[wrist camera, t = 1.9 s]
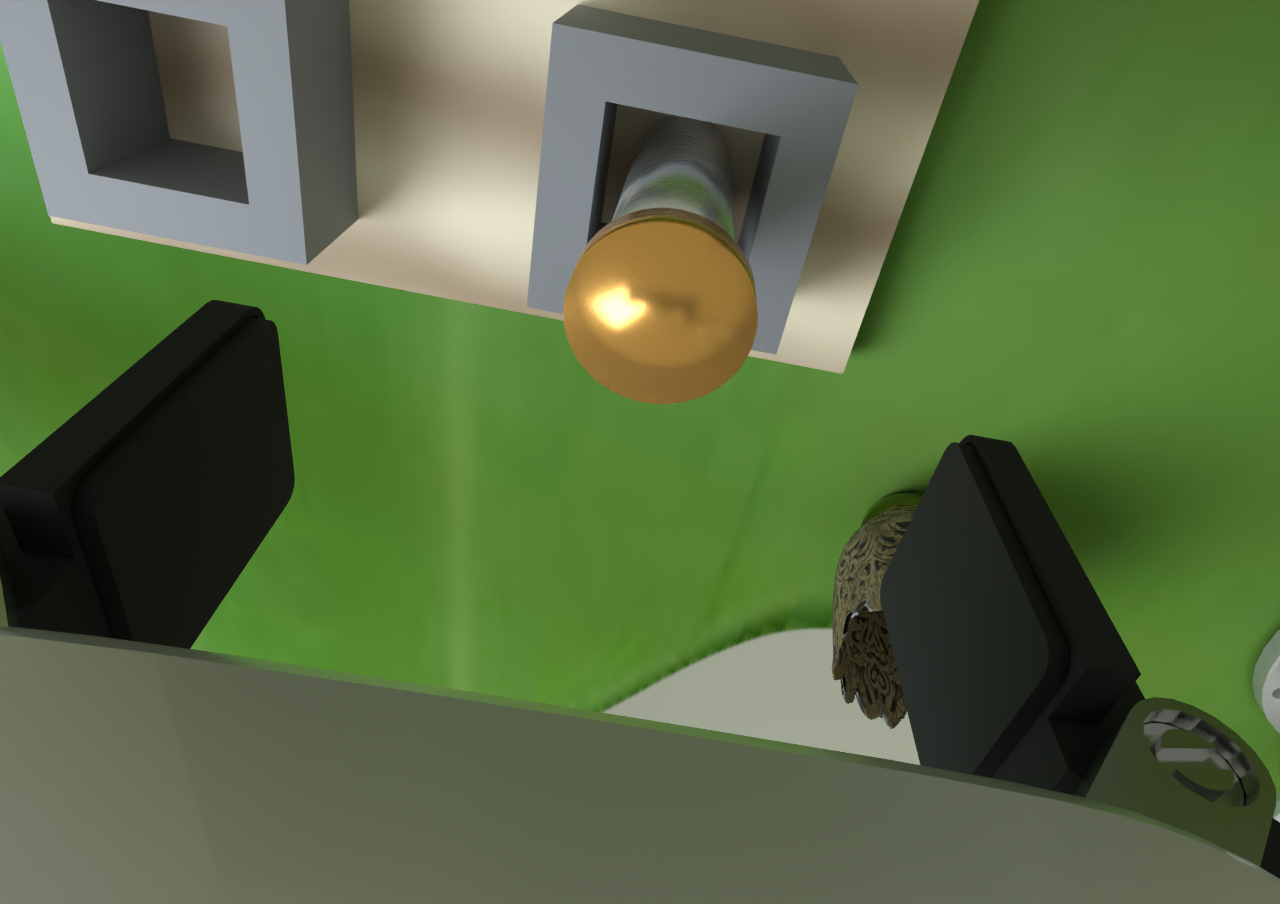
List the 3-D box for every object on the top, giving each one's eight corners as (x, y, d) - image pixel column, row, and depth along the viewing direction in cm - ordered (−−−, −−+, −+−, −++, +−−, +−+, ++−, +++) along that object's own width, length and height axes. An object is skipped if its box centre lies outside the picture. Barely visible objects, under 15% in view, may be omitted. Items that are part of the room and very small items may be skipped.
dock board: (837, 354, 29) (842, 373, 28) (80, 209, 29) (52, 222, 27) (969, -16, 22) (983, -11, 21) (-26, -220, 22) (-71, -227, 20)
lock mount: (769, 298, 27) (776, 354, 23) (550, 256, 26) (526, 306, 23) (838, 57, 22) (858, 84, 19) (577, 4, 22) (552, 22, 19)
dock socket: (358, 219, 26) (306, 265, 23) (132, 175, 26) (48, 215, 23) (347, -42, 22) (281, -32, 19) (76, -97, 22) (-37, -96, 19)
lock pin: (728, 235, 26) (731, 418, 17) (612, 213, 25) (553, 384, 16) (758, 113, 23) (780, 247, 14) (631, 87, 23) (575, 207, 14)
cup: (911, 605, 36) (953, 761, 30) (778, 539, 35) (791, 688, 28) (1033, 498, 32) (1113, 651, 26) (889, 417, 31) (935, 557, 24)
